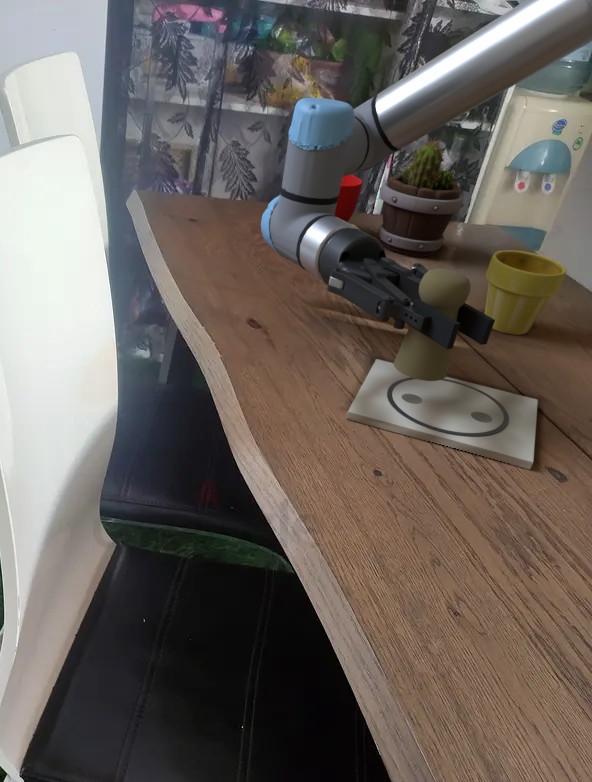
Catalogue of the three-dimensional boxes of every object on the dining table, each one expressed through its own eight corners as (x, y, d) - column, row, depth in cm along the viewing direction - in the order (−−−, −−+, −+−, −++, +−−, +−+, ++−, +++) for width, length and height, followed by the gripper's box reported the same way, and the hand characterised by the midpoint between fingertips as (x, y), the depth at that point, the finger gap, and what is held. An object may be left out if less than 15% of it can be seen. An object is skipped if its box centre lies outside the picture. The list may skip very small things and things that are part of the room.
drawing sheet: (535, 406, 90) (538, 398, 89) (530, 470, 77) (534, 460, 77) (374, 365, 94) (376, 357, 94) (346, 419, 82) (348, 410, 81)
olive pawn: (436, 386, 80) (469, 287, 73) (385, 368, 82) (412, 271, 76) (454, 368, 84) (485, 273, 78) (404, 351, 86) (431, 258, 80)
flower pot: (547, 345, 106) (574, 278, 100) (475, 333, 107) (498, 266, 101) (534, 319, 114) (558, 256, 109) (467, 308, 115) (488, 245, 109)
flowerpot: (381, 231, 146) (408, 119, 134) (457, 249, 141) (491, 135, 129) (356, 247, 136) (382, 127, 124) (436, 268, 131) (472, 144, 119)
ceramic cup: (255, 229, 138) (263, 172, 132) (313, 219, 148) (323, 165, 142) (307, 250, 131) (317, 191, 125) (364, 237, 141) (376, 182, 135)
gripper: (389, 283, 97) (518, 359, 81) (279, 291, 90) (396, 376, 74) (404, 224, 93) (543, 293, 77) (290, 228, 86) (416, 305, 70)
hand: (470, 334), depth 76 cm, fingers closed on olive pawn, 4 cm apart
